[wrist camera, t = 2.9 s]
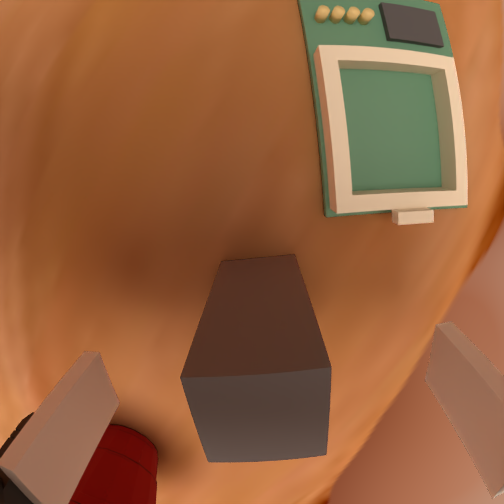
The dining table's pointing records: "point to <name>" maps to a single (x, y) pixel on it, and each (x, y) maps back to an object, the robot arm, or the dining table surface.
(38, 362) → the dining table surface
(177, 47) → the dining table surface
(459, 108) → the board
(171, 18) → the dining table surface
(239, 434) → the dark grey rectangular block
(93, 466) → the plastic cup
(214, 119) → the dining table surface
